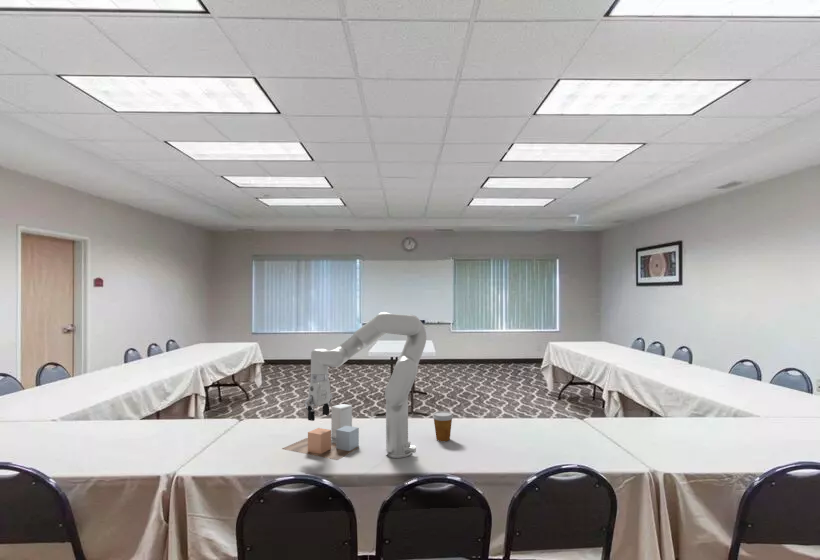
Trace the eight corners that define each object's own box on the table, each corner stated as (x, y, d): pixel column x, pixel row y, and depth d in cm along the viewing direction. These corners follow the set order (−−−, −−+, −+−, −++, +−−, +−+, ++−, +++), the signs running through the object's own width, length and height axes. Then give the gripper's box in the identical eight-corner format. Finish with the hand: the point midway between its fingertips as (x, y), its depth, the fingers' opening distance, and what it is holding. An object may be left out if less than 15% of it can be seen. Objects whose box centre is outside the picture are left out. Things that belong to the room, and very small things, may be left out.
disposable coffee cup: (453, 436, 201) (452, 411, 202) (453, 443, 192) (452, 416, 192) (433, 435, 202) (433, 410, 203) (432, 442, 192) (432, 416, 193)
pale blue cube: (358, 446, 184) (358, 427, 185) (349, 451, 178) (349, 432, 179) (345, 443, 188) (345, 425, 188) (336, 448, 181) (336, 429, 182)
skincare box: (339, 442, 194) (339, 408, 194) (330, 439, 198) (330, 406, 198) (352, 437, 200) (352, 404, 201) (343, 435, 204) (343, 403, 205)
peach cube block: (331, 448, 181) (331, 429, 182) (320, 453, 175) (320, 434, 175) (318, 446, 184) (318, 427, 185) (307, 451, 178) (307, 432, 179)
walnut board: (359, 451, 182) (359, 447, 182) (337, 463, 168) (337, 460, 168) (306, 441, 196) (306, 437, 196) (281, 452, 182) (281, 448, 182)
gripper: (313, 381, 172) (312, 423, 171) (338, 375, 187) (337, 414, 186) (299, 380, 175) (298, 421, 174) (325, 373, 191) (324, 411, 190)
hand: (318, 417), depth 180 cm, fingers open, 9 cm apart
